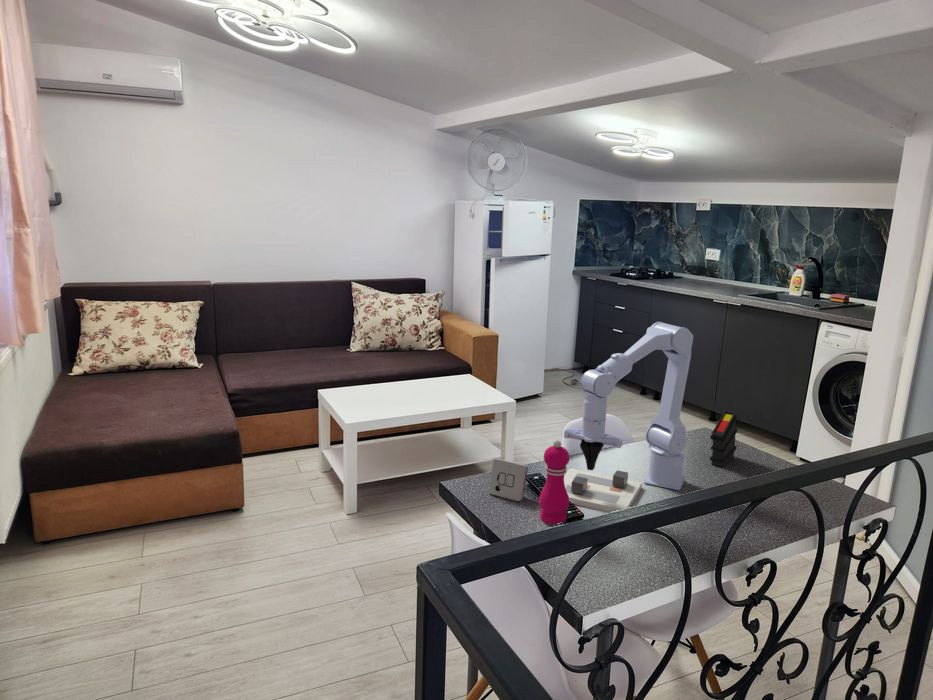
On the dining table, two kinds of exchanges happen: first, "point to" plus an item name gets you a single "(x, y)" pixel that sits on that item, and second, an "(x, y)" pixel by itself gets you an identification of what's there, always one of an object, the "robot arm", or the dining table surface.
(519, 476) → the electrical switch
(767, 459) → the dining table surface
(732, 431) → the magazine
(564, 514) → the pepper mill
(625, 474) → the dark grey block
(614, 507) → the switch panel
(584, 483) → the tab
